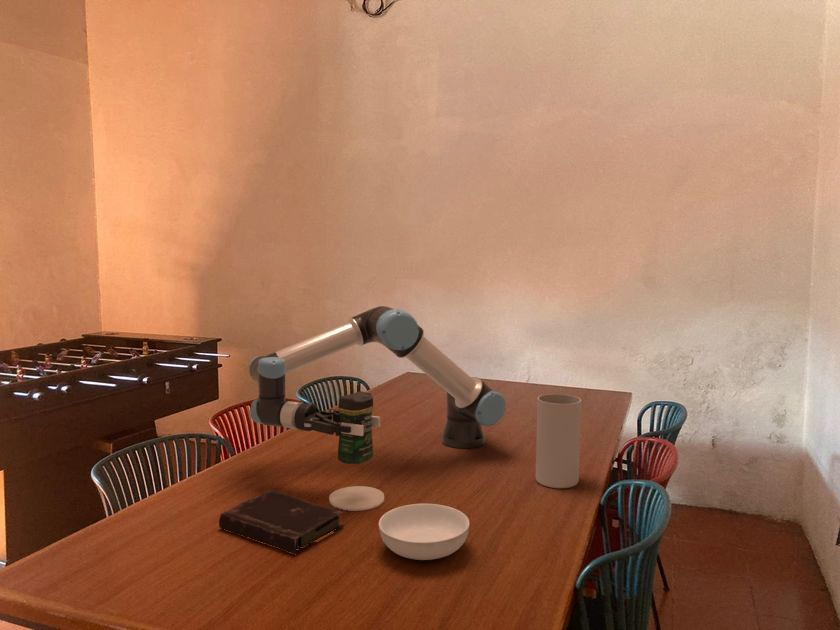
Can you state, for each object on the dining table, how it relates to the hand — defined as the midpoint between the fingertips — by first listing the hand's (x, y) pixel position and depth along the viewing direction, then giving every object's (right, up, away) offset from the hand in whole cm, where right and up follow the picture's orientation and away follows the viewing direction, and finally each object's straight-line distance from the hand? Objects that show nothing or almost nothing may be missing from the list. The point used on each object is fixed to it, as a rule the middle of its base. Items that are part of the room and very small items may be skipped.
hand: (371, 426), depth 178 cm
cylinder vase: (+54, -20, +19) cm, 60 cm away
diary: (-21, -24, -13) cm, 34 cm away
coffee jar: (-4, -10, +3) cm, 11 cm away
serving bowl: (+14, -25, -24) cm, 37 cm away
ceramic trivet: (-4, -21, +4) cm, 22 cm away
